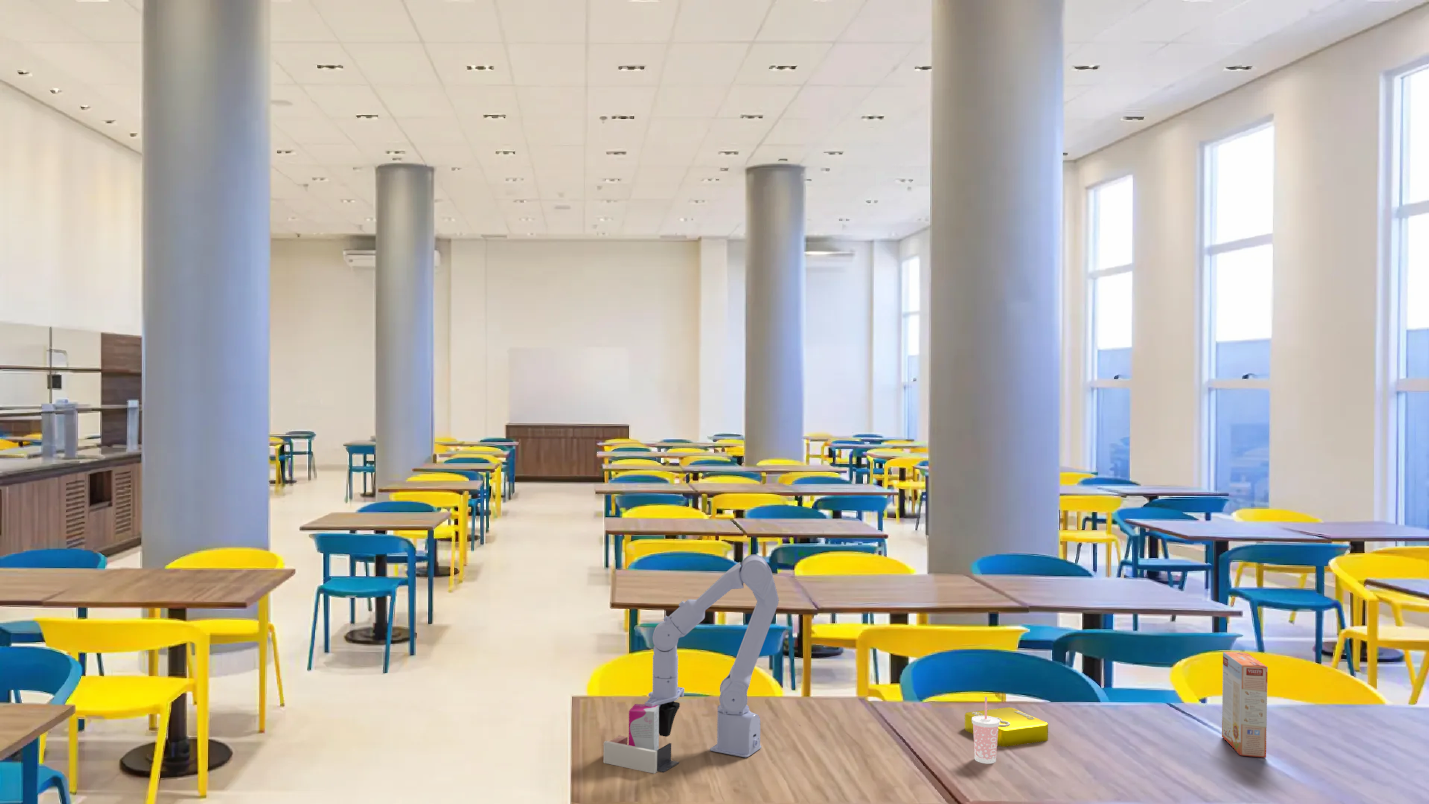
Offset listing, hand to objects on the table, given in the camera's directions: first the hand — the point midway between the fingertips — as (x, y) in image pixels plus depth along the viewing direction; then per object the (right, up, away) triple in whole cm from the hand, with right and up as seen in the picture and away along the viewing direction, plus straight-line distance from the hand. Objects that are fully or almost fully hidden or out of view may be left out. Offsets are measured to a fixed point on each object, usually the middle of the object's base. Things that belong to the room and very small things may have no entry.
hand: (664, 735), depth 227 cm
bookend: (+1, -3, -12) cm, 12 cm away
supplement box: (-4, -3, -8) cm, 9 cm away
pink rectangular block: (-11, -3, -6) cm, 12 cm away
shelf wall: (-7, -3, -13) cm, 15 cm away
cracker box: (+135, -5, +5) cm, 135 cm away
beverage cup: (+72, -4, -5) cm, 72 cm away
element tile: (+82, -5, +13) cm, 83 cm away
